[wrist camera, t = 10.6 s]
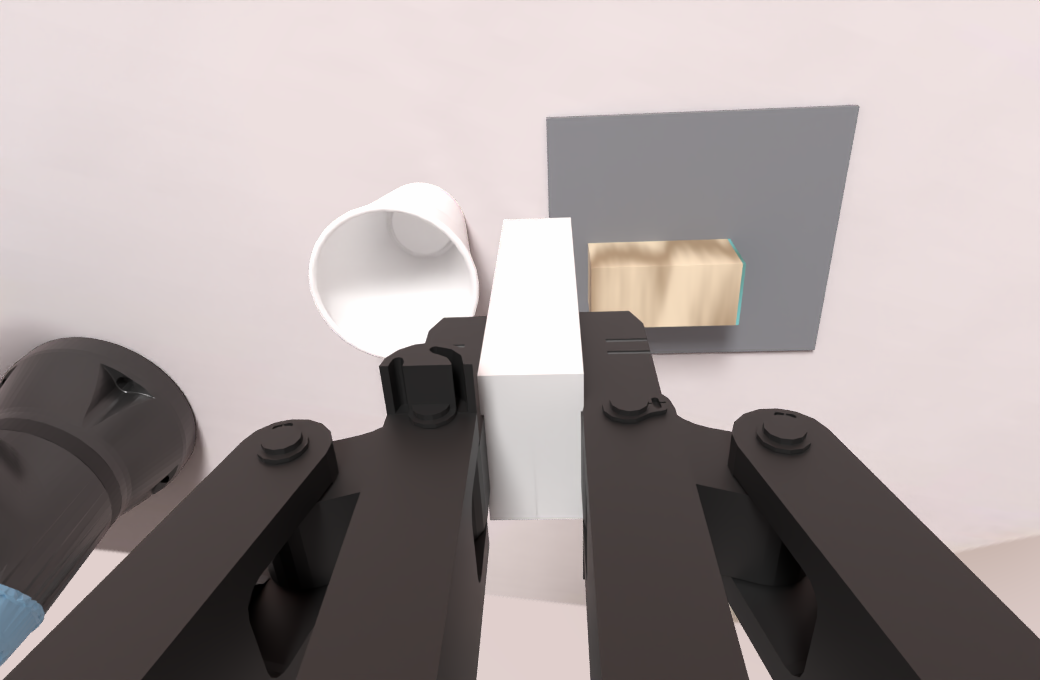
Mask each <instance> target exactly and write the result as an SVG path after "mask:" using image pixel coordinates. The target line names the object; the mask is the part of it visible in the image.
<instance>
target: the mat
mask: <svg viewBox="0 0 1040 680" xmlns="http://www.w3.org/2000/svg"><path fill="white" fill-rule="evenodd" d="M858 112H859V106H858V105H842V106H818V107H793V108H768V109H744V110H719V111H695V112H670V113H645V114H621V115H596V116H571V117H547V118H546V121H547V158H548V194H549V218H569V217H571V228H572V239H573V251H574V263H575V275H576V287H577V299H578V311H579V312H589V304H588V243H612V242H645V241H677V240H710V239H731V241H732V242H733V244H734V246H735V247H736V249H737V250H738V252H739V253H740V255H741V257H742V258H743V260H744V261H745V263H746V269H745V277H744V285H743V294H742V302H741V310H740V319H739V325H720V326H678V327H644V328H645V332H646V336H647V341H648V343H649V347H650V353H651V354H655V353H700V352H746V351H791V350H815V344H816V339H817V334H818V328H819V323H820V317H821V312H822V307H823V301H824V296H825V290H826V285H827V279H828V274H829V269H830V263H831V258H832V252H833V247H834V242H835V236H836V231H837V225H838V220H839V215H840V209H841V204H842V198H843V193H844V187H845V182H846V177H847V171H848V166H849V160H850V155H851V150H852V144H853V139H854V133H855V128H856V123H857V117H858Z"/></svg>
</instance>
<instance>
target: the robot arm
mask: <svg viewBox="0 0 1040 680" xmlns="http://www.w3.org/2000/svg"><path fill="white" fill-rule="evenodd" d="M379 369H380V375H381V381H382V387H383V392H384V398H385V404H386V410H387V417H386V420H385V422H384V425H383V427H381V428H379V429H377V430H375V431H373V432H370V433H366V434H363V435H359V436H355V437H351V438H346V439H341V440H337V441H332V436H331V432H330V431H329V430H328V429H327V428H326V427H325V426H324V425H323V424H321V423H318V422H315V421H311V420H286V421H281V422H277V423H273V424H271V425H269V426H266V427H264V428H262V429H259V430H257V431H255V432H254V433H253V434H251V435H250V436H249V437H247V438H246V439H245V440H243V441H242V442H241V443H240V444H239V445H238V446H237V447H236V448H235V449H234V450H233V451H232V452H231V453H230V454H229V455H228V456H227V457H226V458H225V459H224V460H223V461H222V462H221V463H220V464H219V465H218V466H217V467H216V468H215V469H214V470H213V471H212V472H211V473H210V474H209V475H208V476H207V477H206V478H205V479H204V480H203V481H202V482H201V483H200V484H199V485H198V486H197V487H196V488H195V489H194V490H193V491H192V492H191V493H190V494H189V495H188V496H187V497H186V498H185V499H184V500H183V501H182V502H181V503H180V504H179V505H178V506H177V507H176V508H175V509H174V510H173V511H172V512H171V513H170V514H169V515H168V516H167V517H166V518H165V519H164V520H163V521H162V522H161V523H160V524H159V525H158V526H157V527H156V528H155V529H154V530H153V531H152V532H151V533H150V534H149V535H148V536H147V537H146V538H145V539H144V540H143V541H142V542H141V543H140V544H139V545H138V546H137V547H136V548H135V549H134V550H133V551H132V552H131V553H130V554H129V555H128V556H127V557H126V558H125V559H124V560H123V561H122V562H121V563H120V564H119V565H118V566H117V567H116V568H115V569H114V570H113V571H112V572H111V573H110V574H109V575H108V576H107V577H106V578H105V579H104V580H103V581H102V582H101V583H100V584H99V585H98V586H97V587H96V588H95V589H94V590H93V591H92V592H91V593H90V594H89V595H87V596H86V597H85V598H84V599H83V601H81V603H79V604H78V605H77V606H76V607H75V608H74V609H73V610H72V611H71V612H70V614H68V615H67V616H66V618H64V620H62V621H61V622H60V623H59V625H57V626H56V628H54V629H53V630H52V631H51V632H50V633H49V634H48V635H47V636H46V637H45V638H44V640H42V641H41V642H40V643H39V644H38V645H37V646H36V647H35V648H34V649H33V650H32V651H31V652H30V653H29V654H28V655H27V656H26V657H25V658H24V659H23V660H22V661H21V662H20V663H19V664H18V665H17V666H16V667H15V668H14V669H13V670H12V671H11V672H10V673H9V674H8V675H7V676H6V677H5V678H4V679H3V680H476V677H477V667H478V656H479V646H480V636H481V625H482V615H483V604H484V594H485V584H486V574H487V563H488V553H489V537H488V526H487V516H488V507H489V511H490V520H546V519H583V579H585V587H586V605H587V622H588V642H589V659H590V678H591V680H749V677H748V674H747V670H746V667H745V663H744V659H743V655H742V652H741V648H740V645H739V641H738V637H737V633H736V630H735V626H734V622H733V619H732V615H731V611H730V608H729V604H730V606H731V608H732V610H733V611H734V613H735V615H736V617H737V618H738V620H739V622H740V623H741V625H742V627H743V629H744V630H745V632H746V634H747V636H748V637H749V639H750V641H751V642H752V644H753V646H754V648H755V649H756V651H757V653H758V654H759V656H760V658H761V660H762V662H763V663H764V665H765V667H766V669H767V670H768V672H769V674H770V675H771V677H772V679H773V680H1040V639H1039V638H1038V637H1037V636H1036V635H1035V634H1034V633H1033V632H1032V631H1031V630H1030V629H1029V628H1028V627H1027V626H1026V625H1025V624H1024V623H1023V622H1022V621H1021V620H1020V619H1019V618H1018V617H1017V616H1016V615H1015V614H1014V613H1013V612H1012V611H1011V610H1010V609H1009V608H1008V607H1007V606H1006V605H1005V604H1004V603H1003V602H1002V601H1001V600H1000V599H999V598H998V597H997V596H996V595H995V594H994V593H993V592H992V591H991V590H990V589H989V588H988V587H987V586H986V585H985V584H984V583H983V582H982V581H981V580H980V579H979V578H978V577H977V576H976V575H975V574H974V573H973V572H972V571H971V570H970V569H969V568H968V567H967V566H966V565H965V564H964V563H963V562H962V561H961V560H960V559H959V558H958V557H957V556H956V555H955V554H954V553H953V552H952V551H951V550H950V549H949V548H948V547H947V546H946V545H945V544H944V543H943V542H942V541H941V540H940V539H939V538H938V537H937V536H936V535H935V534H934V533H933V532H932V531H931V530H930V529H929V528H928V527H927V526H926V525H924V524H923V523H922V522H921V521H920V520H919V519H918V518H917V517H916V516H915V515H914V514H913V513H912V512H911V511H910V510H909V509H908V508H907V507H906V506H905V505H904V504H903V503H902V502H901V501H900V500H899V499H898V498H897V497H896V496H895V495H894V494H893V493H892V492H891V491H890V490H889V489H888V488H887V487H886V486H885V485H884V484H883V483H882V482H881V481H880V480H879V479H878V478H877V477H876V476H875V475H874V474H873V473H872V472H871V471H870V470H869V469H868V468H867V467H866V466H865V465H864V464H863V463H862V462H861V461H860V460H859V459H858V458H857V457H856V456H855V455H854V454H853V453H852V452H851V451H850V450H849V449H848V448H847V447H846V446H845V445H844V444H843V443H842V442H841V441H840V440H839V439H838V438H837V437H836V436H835V435H834V434H833V433H832V432H831V431H830V430H829V429H828V428H826V427H825V426H823V425H822V424H821V423H819V422H818V421H816V420H815V419H813V418H811V417H808V416H806V415H803V414H800V413H798V412H794V411H789V410H784V409H758V410H755V411H752V412H749V413H745V414H743V415H742V416H741V417H740V418H739V419H737V420H736V421H735V422H734V425H733V430H732V432H730V431H724V430H719V429H713V428H708V427H705V426H701V425H697V424H694V423H692V422H689V421H687V420H684V419H682V418H681V417H679V416H678V415H677V414H676V410H675V408H674V406H673V404H672V403H671V401H670V400H669V399H668V398H667V397H665V396H664V395H662V394H661V390H660V386H659V382H658V378H657V375H656V371H655V367H654V363H653V359H652V355H651V353H650V347H649V343H648V341H647V336H646V332H645V328H644V324H643V323H642V322H641V321H640V320H639V319H638V318H637V317H636V316H634V315H633V314H632V313H631V312H630V311H602V312H579V311H578V299H577V287H576V275H575V263H574V251H573V239H572V228H571V217H569V218H538V219H508V220H503V226H502V232H501V238H500V244H499V250H498V256H497V262H496V268H495V274H494V280H493V286H492V292H491V298H490V303H489V309H488V315H487V316H481V317H444V318H443V319H441V320H440V321H439V322H438V323H437V324H436V325H435V326H434V327H432V328H431V329H430V330H429V332H428V335H427V338H426V341H425V343H422V344H414V345H411V346H408V347H405V348H402V349H399V350H397V351H396V352H394V353H392V354H391V355H389V356H387V357H386V358H385V359H384V361H383V362H382V363H381V365H380V366H379ZM195 440H196V427H195V421H194V417H193V414H192V411H191V408H190V406H189V404H188V402H187V400H186V398H185V397H184V395H183V394H182V392H181V391H180V389H179V388H178V387H177V386H176V384H175V383H174V382H173V381H172V380H171V379H170V378H169V377H168V376H167V375H166V374H165V373H164V372H163V371H162V370H161V369H159V368H158V367H157V366H156V365H154V364H153V363H152V362H150V361H149V360H147V359H146V358H144V357H142V356H141V355H139V354H137V353H135V352H133V351H131V350H129V349H127V348H124V347H122V346H119V345H117V344H113V343H110V342H107V341H103V340H98V339H92V338H82V337H71V338H61V339H56V340H53V341H49V342H47V343H44V344H42V345H40V346H38V347H36V348H35V349H33V350H32V351H31V352H29V353H28V354H27V355H25V356H24V357H23V358H22V359H20V360H19V361H18V362H16V363H15V364H14V365H13V366H12V367H11V368H10V369H9V370H8V371H7V373H6V374H5V375H4V377H3V378H2V380H1V382H0V666H1V665H2V664H3V663H4V662H5V661H6V660H7V659H8V658H9V657H10V656H11V654H12V653H13V652H14V651H15V650H16V648H18V647H19V645H20V644H21V643H22V642H23V641H24V640H25V639H26V637H27V636H28V635H29V634H30V633H31V632H32V631H34V630H35V629H36V628H37V627H38V626H39V625H40V624H41V623H42V621H43V620H44V615H45V614H46V612H47V611H48V610H49V608H50V607H51V606H52V604H53V603H54V602H55V600H56V599H57V598H58V596H59V595H60V593H61V592H62V591H63V590H64V588H65V587H66V585H67V584H68V583H69V581H70V580H71V579H72V578H73V576H74V575H75V574H76V572H77V571H78V570H79V568H80V567H81V565H82V564H83V563H84V562H85V560H86V559H87V557H88V556H89V555H90V553H91V552H92V551H93V550H94V548H95V547H96V546H97V544H98V543H99V542H100V540H101V539H102V538H103V536H104V535H105V533H106V532H107V531H108V529H109V528H110V527H111V525H112V524H113V523H114V522H115V520H116V519H117V518H118V517H119V516H121V515H122V514H124V513H126V512H127V511H129V510H130V509H132V508H133V507H135V506H136V505H138V504H139V503H141V502H143V501H144V500H146V499H147V498H149V497H150V496H151V495H153V494H154V493H156V492H158V491H159V490H161V489H162V488H164V487H165V486H167V485H168V484H169V483H170V482H171V481H172V480H173V479H174V478H175V477H176V476H177V474H178V473H179V472H180V470H181V469H182V467H183V466H184V465H185V463H186V462H187V460H188V459H189V457H190V455H191V454H192V451H193V448H194V445H195ZM728 603H729V604H728Z"/></svg>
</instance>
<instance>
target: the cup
mask: <svg viewBox="0 0 1040 680" xmlns="http://www.w3.org/2000/svg"><path fill="white" fill-rule="evenodd" d="M308 275H309V285H310V291H311V294H312V297H313V300H314V303H315V305H316V307H317V309H318V311H319V313H320V315H321V317H322V318H323V319H324V321H325V322H326V323H327V324H328V326H329V327H330V328H331V329H332V331H334V332H335V333H336V334H337V335H338V336H339V337H340V338H342V339H343V340H344V341H345V342H347V343H348V344H350V345H352V346H353V347H355V348H356V349H358V350H360V351H363V352H365V353H368V354H370V355H372V356H376V357H381V358H386V357H387V356H389V355H391V354H392V353H394V352H396V351H397V350H399V349H402V348H405V347H408V346H411V345H414V344H422V343H425V341H426V338H427V335H428V332H429V330H430V329H431V328H432V327H434V326H435V325H436V324H437V323H438V322H439V321H440V320H441V319H443V318H444V317H474V315H475V313H476V309H477V305H478V301H479V280H478V274H477V269H476V267H475V264H474V262H473V259H472V257H471V254H470V248H469V242H468V236H467V229H466V223H465V218H464V214H463V212H462V209H461V207H460V206H459V204H458V203H457V201H456V200H455V199H454V198H453V197H452V196H451V195H450V194H449V193H448V192H446V191H445V190H443V189H442V188H439V187H437V186H435V185H432V184H428V183H410V184H407V185H404V186H401V187H399V188H397V189H396V190H394V191H392V192H390V193H389V194H387V195H385V196H383V197H382V198H380V199H378V200H376V201H375V202H373V203H371V204H369V205H366V206H363V207H360V208H357V209H354V210H351V211H349V212H347V213H345V214H344V215H342V216H340V217H339V218H337V219H335V220H334V221H333V222H332V223H331V224H330V225H329V226H328V227H327V228H326V229H325V230H324V231H323V233H322V234H321V236H320V237H319V239H318V240H317V242H316V243H315V246H314V249H313V252H312V255H311V257H310V264H309V272H308Z"/></svg>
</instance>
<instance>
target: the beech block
mask: <svg viewBox="0 0 1040 680" xmlns="http://www.w3.org/2000/svg"><path fill="white" fill-rule="evenodd" d="M745 269H746V263H745V261H744V260H743V258H742V257H741V255H740V253H739V252H738V250H737V249H736V247H735V246H734V244H733V242H732V241H731V239H710V240H677V241H645V242H612V243H588V304H589V312H602V311H630V312H631V313H632V314H633V315H634V316H636V317H637V318H638V319H639V320H640V321H641V322H642V323H643V324H644V327H678V326H720V325H739V319H740V310H741V302H742V294H743V285H744V277H745Z"/></svg>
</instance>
